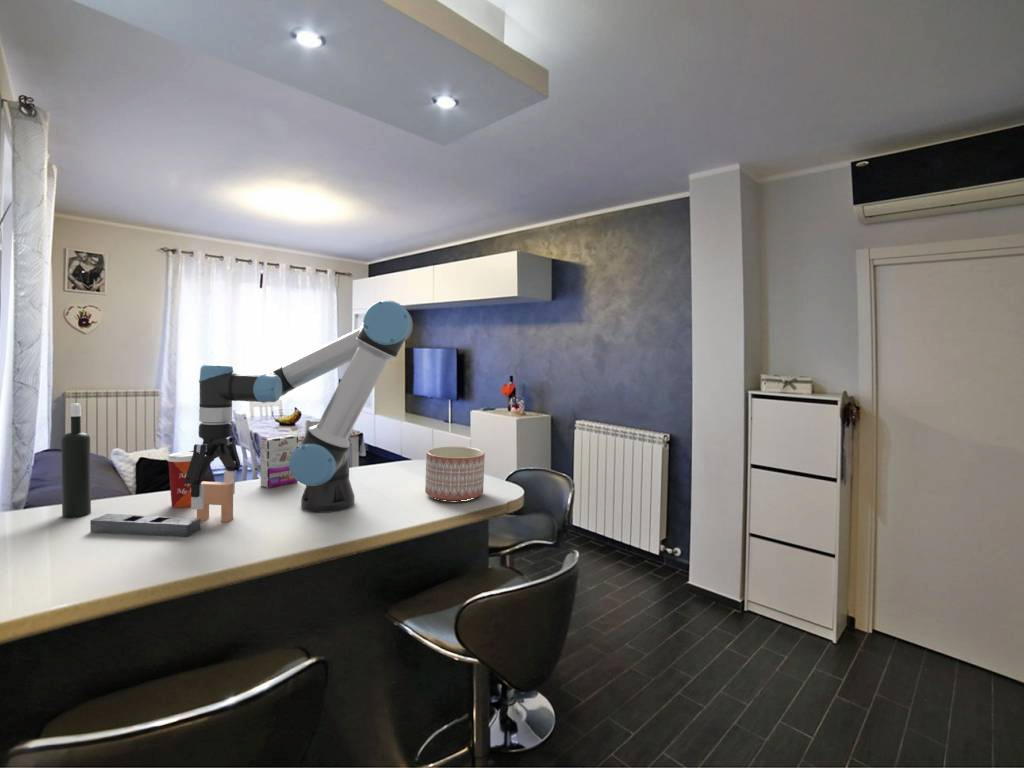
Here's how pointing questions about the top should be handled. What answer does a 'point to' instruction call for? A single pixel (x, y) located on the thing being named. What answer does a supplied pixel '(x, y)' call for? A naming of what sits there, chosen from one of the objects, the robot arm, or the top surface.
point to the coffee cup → (179, 479)
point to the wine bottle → (76, 468)
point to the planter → (454, 473)
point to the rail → (145, 525)
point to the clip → (217, 500)
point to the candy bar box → (277, 460)
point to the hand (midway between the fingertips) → (214, 501)
